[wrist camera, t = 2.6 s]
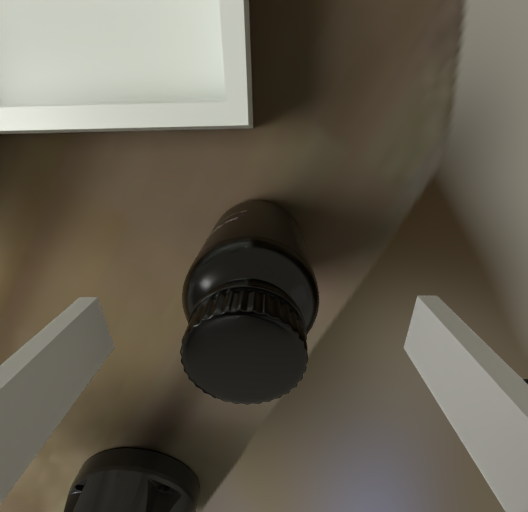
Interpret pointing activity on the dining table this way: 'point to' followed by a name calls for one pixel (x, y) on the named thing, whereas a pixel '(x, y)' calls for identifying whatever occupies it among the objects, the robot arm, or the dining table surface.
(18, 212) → the dining table surface
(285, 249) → the supplement bottle
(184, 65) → the tote
